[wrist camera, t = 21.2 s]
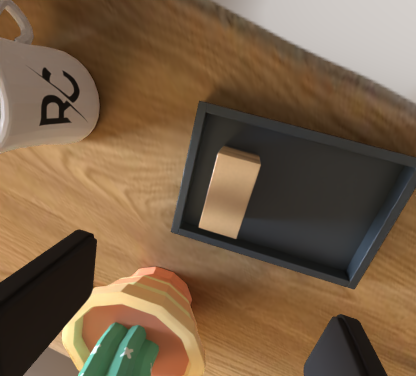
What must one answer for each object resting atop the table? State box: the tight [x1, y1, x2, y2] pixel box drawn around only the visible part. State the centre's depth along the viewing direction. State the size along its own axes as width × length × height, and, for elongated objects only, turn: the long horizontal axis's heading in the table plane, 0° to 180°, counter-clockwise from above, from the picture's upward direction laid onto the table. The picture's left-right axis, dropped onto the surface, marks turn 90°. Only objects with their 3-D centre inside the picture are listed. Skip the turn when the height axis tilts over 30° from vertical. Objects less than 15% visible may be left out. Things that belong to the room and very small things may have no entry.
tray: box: [171, 101, 416, 289], centre depth 23 cm, size 20×14×2 cm
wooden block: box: [199, 145, 261, 239], centre depth 22 cm, size 7×4×4 cm, turn 166°
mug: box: [0, 0, 100, 154], centre depth 19 cm, size 12×9×10 cm
